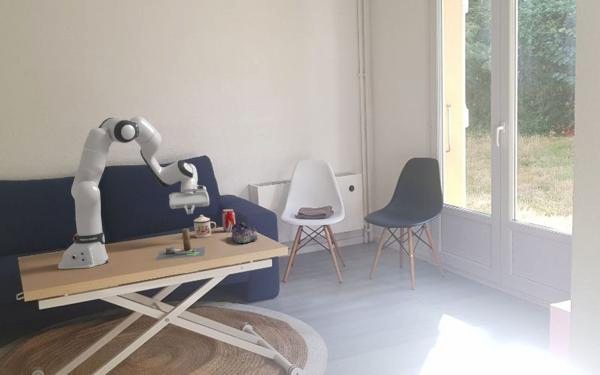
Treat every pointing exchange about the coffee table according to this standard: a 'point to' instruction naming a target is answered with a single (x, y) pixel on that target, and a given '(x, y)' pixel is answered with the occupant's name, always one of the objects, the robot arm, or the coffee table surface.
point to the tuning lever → (185, 242)
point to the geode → (243, 233)
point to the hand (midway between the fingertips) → (189, 213)
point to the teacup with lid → (203, 227)
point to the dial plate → (181, 254)
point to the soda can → (228, 219)
